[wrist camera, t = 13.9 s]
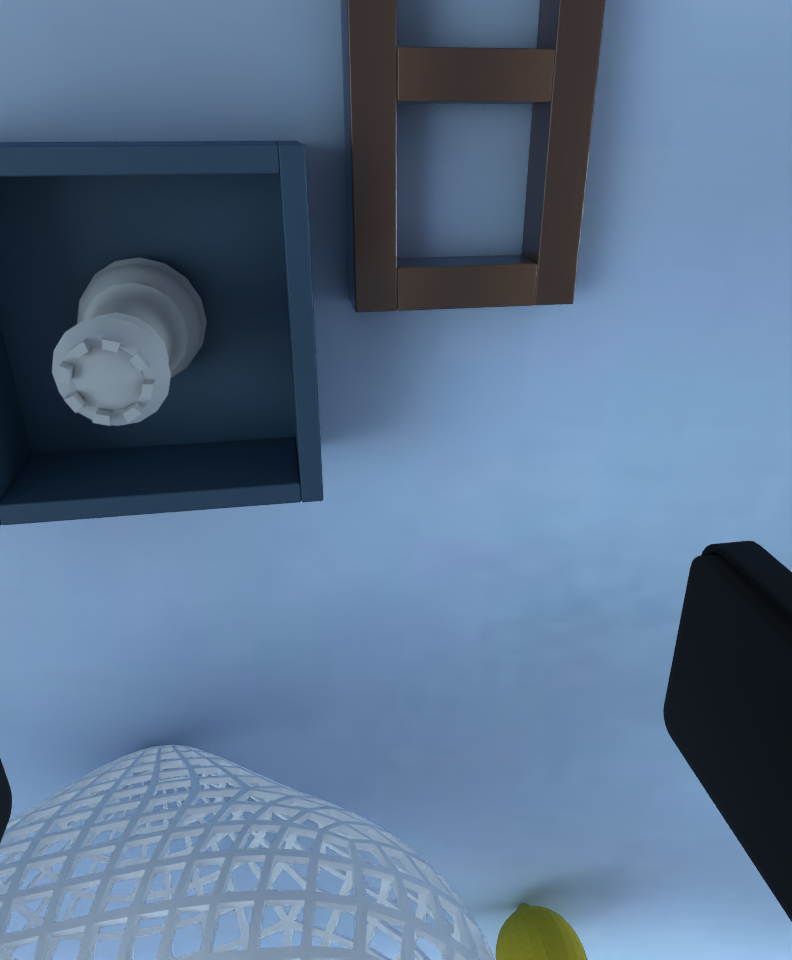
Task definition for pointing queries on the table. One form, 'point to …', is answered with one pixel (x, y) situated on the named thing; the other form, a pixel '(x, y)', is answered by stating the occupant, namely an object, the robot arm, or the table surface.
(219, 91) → the table surface
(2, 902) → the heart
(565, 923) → the lemon
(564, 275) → the stand
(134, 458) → the blue open box
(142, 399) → the rook chess piece
